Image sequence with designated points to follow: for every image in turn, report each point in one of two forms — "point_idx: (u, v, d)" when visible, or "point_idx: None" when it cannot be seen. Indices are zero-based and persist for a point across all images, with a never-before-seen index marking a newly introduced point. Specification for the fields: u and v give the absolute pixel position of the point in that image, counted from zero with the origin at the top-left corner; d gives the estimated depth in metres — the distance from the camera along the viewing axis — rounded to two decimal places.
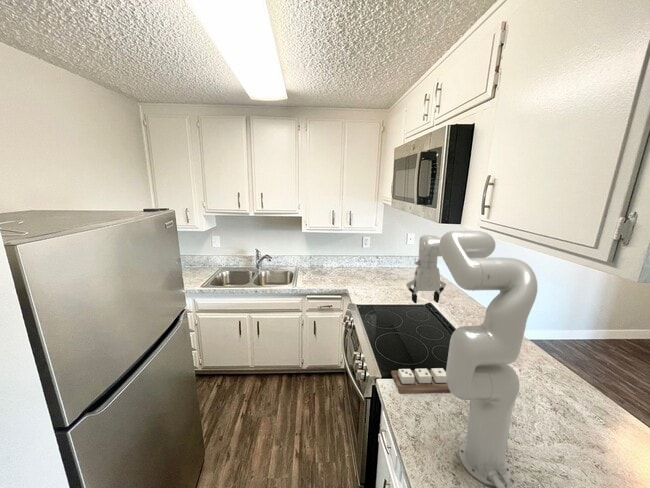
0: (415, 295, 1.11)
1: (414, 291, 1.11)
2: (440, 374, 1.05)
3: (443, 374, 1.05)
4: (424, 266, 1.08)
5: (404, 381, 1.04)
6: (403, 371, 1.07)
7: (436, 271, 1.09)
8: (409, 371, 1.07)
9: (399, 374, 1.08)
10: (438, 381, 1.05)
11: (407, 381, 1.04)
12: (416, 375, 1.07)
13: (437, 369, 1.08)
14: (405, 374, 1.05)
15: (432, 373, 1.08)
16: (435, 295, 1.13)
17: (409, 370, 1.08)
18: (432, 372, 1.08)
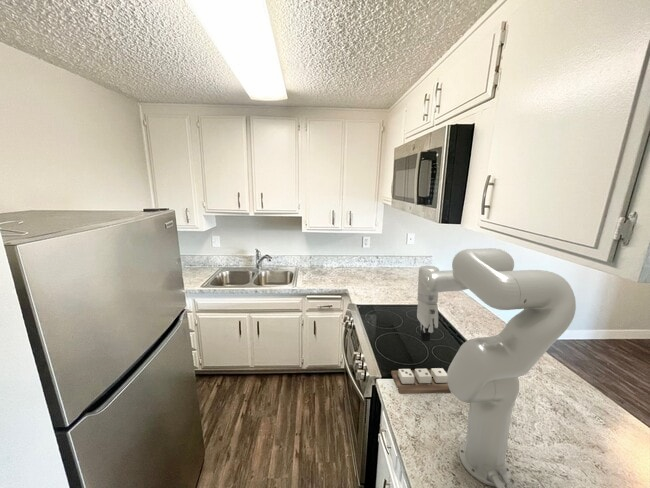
0: (429, 332, 1.03)
1: None
2: (440, 374, 1.05)
3: (443, 374, 1.05)
4: (437, 300, 0.99)
5: (404, 381, 1.04)
6: (403, 371, 1.07)
7: None
8: (409, 371, 1.07)
9: (399, 374, 1.08)
10: (438, 381, 1.05)
11: (407, 381, 1.04)
12: (416, 375, 1.07)
13: (437, 369, 1.08)
14: (405, 374, 1.05)
15: (432, 373, 1.08)
16: None
17: (409, 370, 1.08)
18: (432, 372, 1.08)
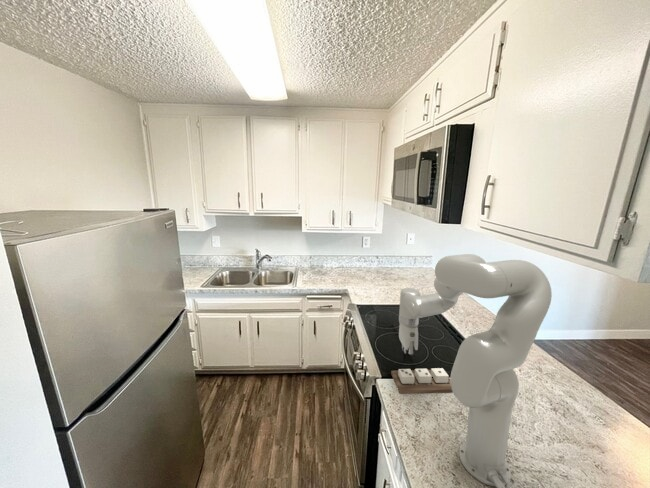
0: None
1: None
2: (440, 374, 1.05)
3: (443, 374, 1.05)
4: (417, 322, 1.01)
5: (404, 381, 1.04)
6: (403, 371, 1.07)
7: None
8: (409, 371, 1.07)
9: (399, 374, 1.08)
10: (438, 381, 1.05)
11: (407, 381, 1.04)
12: (416, 375, 1.07)
13: (437, 369, 1.08)
14: (405, 374, 1.05)
15: (432, 373, 1.08)
16: None
17: (409, 370, 1.08)
18: (432, 372, 1.08)
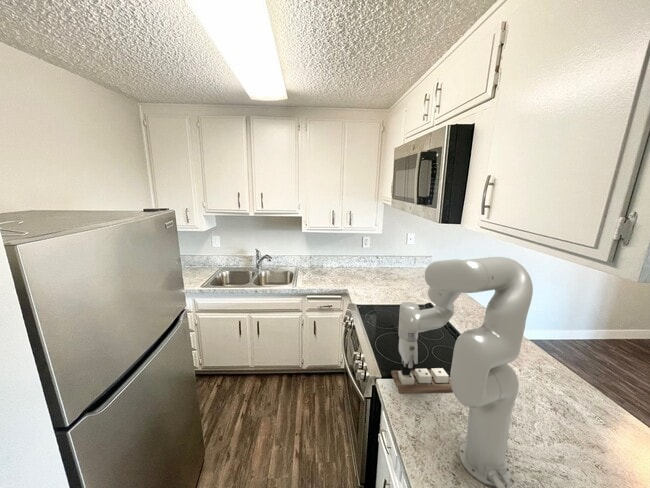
0: None
1: None
2: (440, 374, 1.05)
3: (443, 374, 1.05)
4: (417, 336, 1.01)
5: (404, 383, 1.04)
6: None
7: None
8: None
9: (399, 376, 1.08)
10: (438, 381, 1.05)
11: (407, 383, 1.04)
12: (416, 375, 1.07)
13: (437, 369, 1.08)
14: (405, 376, 1.06)
15: (432, 373, 1.08)
16: None
17: None
18: (432, 372, 1.08)
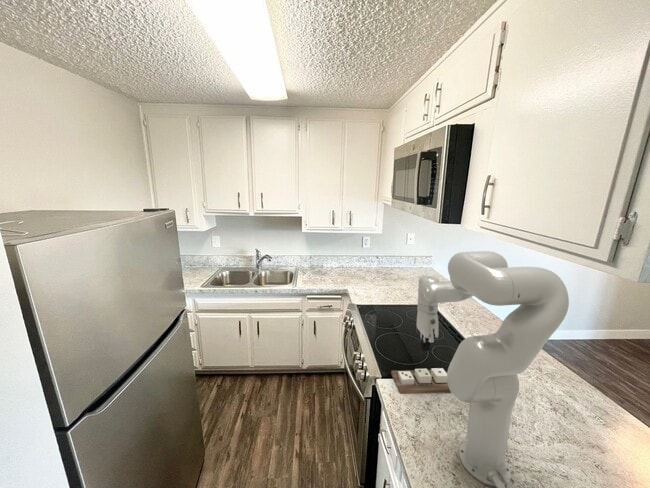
0: (429, 342, 1.04)
1: None
2: (440, 374, 1.05)
3: (443, 374, 1.05)
4: (437, 310, 1.00)
5: (404, 383, 1.04)
6: (403, 373, 1.07)
7: None
8: (409, 373, 1.07)
9: (399, 376, 1.08)
10: (438, 381, 1.05)
11: (407, 383, 1.04)
12: (416, 375, 1.07)
13: (437, 369, 1.08)
14: (405, 376, 1.06)
15: (432, 373, 1.08)
16: None
17: (409, 373, 1.08)
18: (432, 372, 1.08)
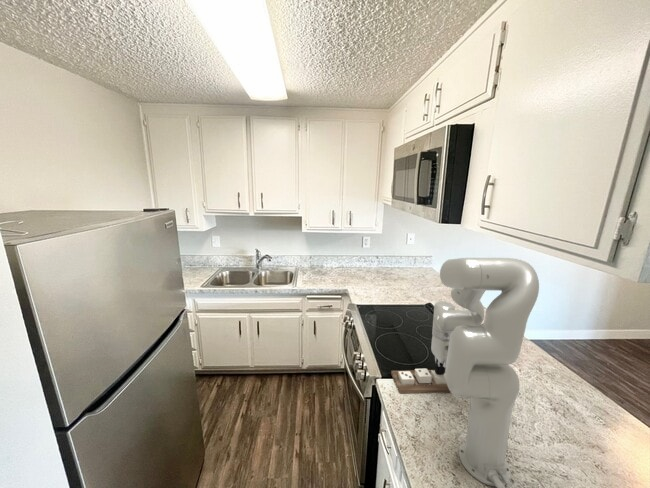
0: (444, 366, 1.06)
1: None
2: (440, 376, 1.05)
3: (443, 376, 1.05)
4: None
5: (404, 383, 1.04)
6: (403, 373, 1.07)
7: None
8: (409, 373, 1.07)
9: (399, 376, 1.08)
10: (438, 383, 1.05)
11: (407, 383, 1.04)
12: (416, 375, 1.07)
13: None
14: (405, 376, 1.06)
15: (432, 375, 1.08)
16: None
17: (409, 373, 1.08)
18: (432, 374, 1.08)
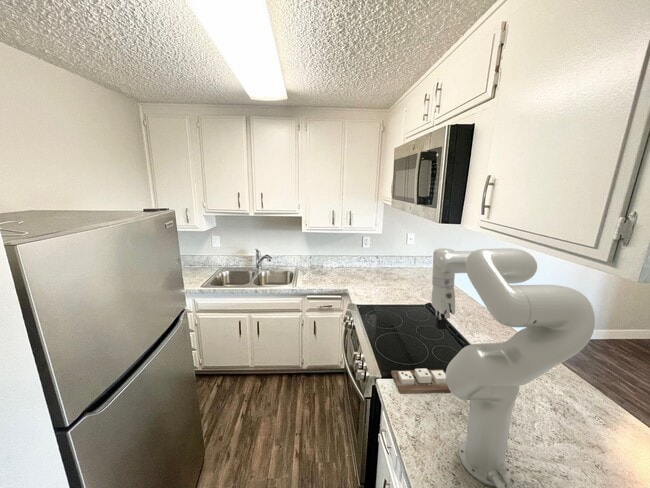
0: None
1: None
2: (440, 376, 1.06)
3: (443, 377, 1.05)
4: (453, 284, 0.94)
5: (404, 383, 1.04)
6: (403, 373, 1.07)
7: None
8: (409, 373, 1.07)
9: (399, 376, 1.08)
10: (438, 383, 1.05)
11: (407, 383, 1.04)
12: (416, 375, 1.07)
13: (437, 372, 1.09)
14: (405, 376, 1.06)
15: (432, 375, 1.08)
16: None
17: (409, 373, 1.08)
18: (432, 374, 1.08)
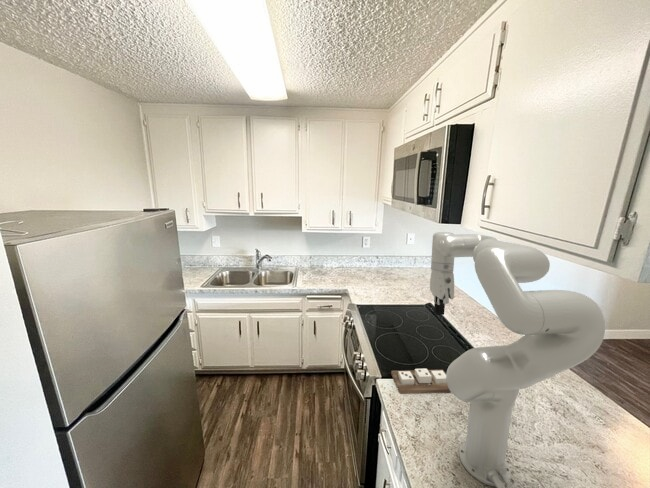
0: (444, 305, 0.95)
1: None
2: (440, 376, 1.06)
3: (443, 377, 1.05)
4: (453, 268, 0.91)
5: (404, 383, 1.04)
6: (403, 373, 1.07)
7: None
8: (409, 373, 1.07)
9: (399, 376, 1.08)
10: (438, 383, 1.05)
11: (407, 383, 1.04)
12: (416, 375, 1.07)
13: (437, 372, 1.09)
14: (405, 376, 1.06)
15: (432, 375, 1.08)
16: None
17: (409, 373, 1.08)
18: (432, 374, 1.08)
